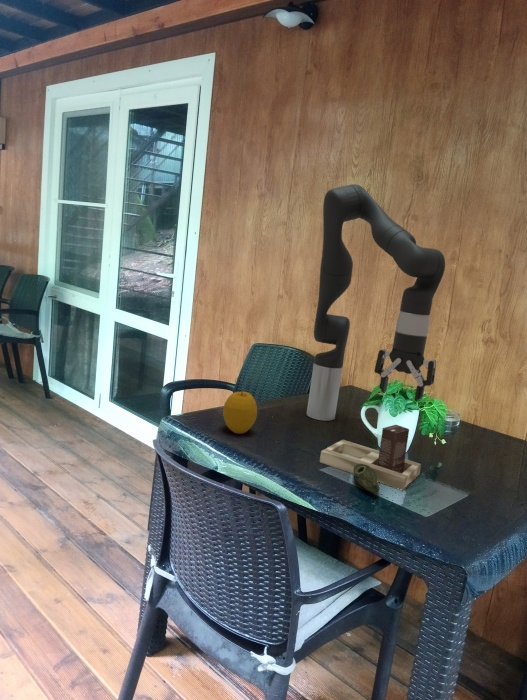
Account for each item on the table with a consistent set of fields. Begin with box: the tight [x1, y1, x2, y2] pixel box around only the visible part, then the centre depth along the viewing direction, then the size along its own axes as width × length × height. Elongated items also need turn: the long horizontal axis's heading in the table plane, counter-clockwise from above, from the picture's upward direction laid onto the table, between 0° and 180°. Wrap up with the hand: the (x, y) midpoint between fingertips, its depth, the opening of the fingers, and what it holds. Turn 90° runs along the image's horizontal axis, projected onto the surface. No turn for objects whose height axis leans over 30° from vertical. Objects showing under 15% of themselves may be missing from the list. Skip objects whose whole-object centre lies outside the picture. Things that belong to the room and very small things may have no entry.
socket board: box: [319, 439, 422, 490], centre depth 145 cm, size 13×22×3 cm, turn 58°
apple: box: [222, 391, 258, 435], centre depth 160 cm, size 10×10×12 cm
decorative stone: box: [353, 463, 380, 493], centre depth 134 cm, size 11×8×5 cm
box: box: [378, 424, 410, 474], centre depth 142 cm, size 6×4×12 cm
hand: (400, 396), depth 141 cm, fingers open, 8 cm apart
